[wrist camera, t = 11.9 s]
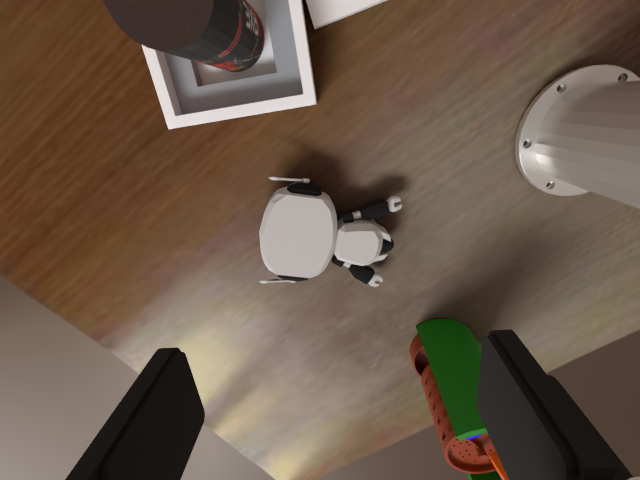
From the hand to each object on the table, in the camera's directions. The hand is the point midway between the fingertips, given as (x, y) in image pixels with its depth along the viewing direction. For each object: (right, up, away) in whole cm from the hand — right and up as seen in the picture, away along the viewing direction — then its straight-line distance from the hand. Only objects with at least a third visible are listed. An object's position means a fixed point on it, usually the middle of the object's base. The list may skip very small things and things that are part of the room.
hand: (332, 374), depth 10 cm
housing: (-9, +24, +21) cm, 33 cm away
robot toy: (+1, +6, +29) cm, 29 cm away
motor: (+16, -10, +35) cm, 40 cm away
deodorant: (-8, +23, +20) cm, 32 cm away
